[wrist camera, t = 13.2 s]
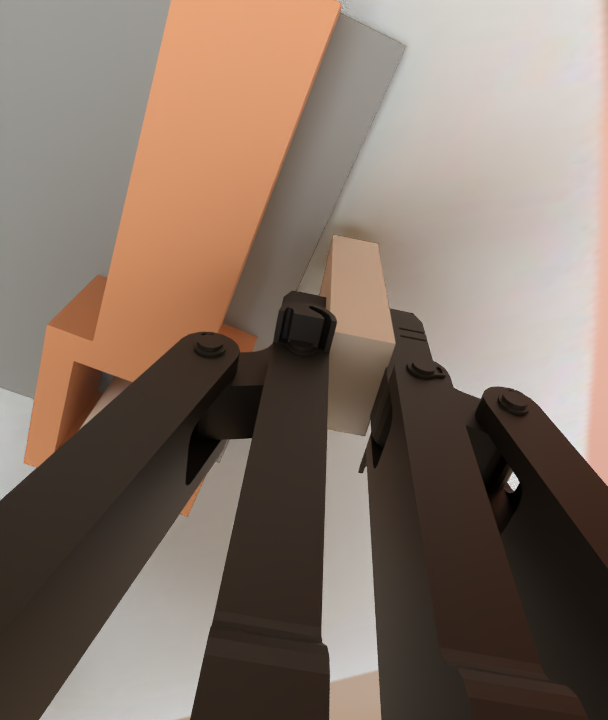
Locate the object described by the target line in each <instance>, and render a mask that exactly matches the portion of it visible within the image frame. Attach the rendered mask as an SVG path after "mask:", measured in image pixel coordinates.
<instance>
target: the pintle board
mask: <svg viewBox="0 0 608 720" xmlns="http://www.w3.org/2000/svg"><path fill="white" fill-rule="evenodd" d="M170 3H171V0H0V387H1V388H4V389H6V390H9V391H12V392H15V393H18V394H21V395H24V396H27V397H30V398H33V399H34V398H35V392H36V386H37V381H38V375H39V369H40V363H41V357H42V351H43V345H44V339H45V333H46V327H47V324H48V323H49V322H50V321H51V320H52V319H53V318H54V317H55V316H56V315H57V314H58V313H59V312H60V311H61V310H62V309H63V308H64V307H65V306H66V305H67V304H68V303H69V302H70V301H71V300H73V299H74V298H75V297H76V296H77V295H78V294H79V293H80V292H81V291H82V290H83V289H84V288H85V287H86V286H87V285H88V284H89V283H90V282H91V281H92V280H93V279H94V278H95V277H96V276H97V275H100V276H103V277H105V278H108V273H109V269H110V265H111V260H112V256H113V252H114V247H115V243H116V239H117V234H118V230H119V225H120V221H121V217H122V212H123V208H124V204H125V199H126V195H127V190H128V186H129V182H130V177H131V173H132V169H133V164H134V160H135V156H136V151H137V147H138V142H139V138H140V134H141V129H142V125H143V121H144V116H145V112H146V108H147V103H148V99H149V94H150V90H151V86H152V81H153V77H154V73H155V68H156V64H157V60H158V55H159V51H160V46H161V42H162V38H163V33H164V29H165V25H166V20H167V16H168V11H169V7H170ZM405 48H406V46H405V45H403V44H401V43H399V42H397V41H395V40H393V39H391V38H389V37H387V36H385V35H383V34H381V33H379V32H377V31H375V30H373V29H371V28H369V27H367V26H365V25H363V24H361V23H359V22H357V21H355V20H353V19H351V18H349V17H347V16H345V15H343V14H341V13H340V15H339V17H338V20H337V23H336V25H335V28H334V30H333V33H332V36H331V38H330V41H329V44H328V46H327V49H326V52H325V54H324V57H323V59H322V62H321V65H320V67H319V70H318V73H317V75H316V78H315V81H314V83H313V86H312V88H311V91H310V94H309V96H308V99H307V102H306V104H305V107H304V110H303V112H302V115H301V117H300V120H299V123H298V125H297V128H296V131H295V133H294V136H293V139H292V141H291V144H290V146H289V149H288V152H287V154H286V157H285V160H284V162H283V165H282V168H281V170H280V173H279V175H278V178H277V181H276V183H275V186H274V189H273V191H272V194H271V197H270V199H269V202H268V204H267V207H266V210H265V212H264V215H263V218H262V220H261V223H260V226H259V228H258V231H257V233H256V236H255V239H254V241H253V244H252V247H251V249H250V252H249V255H248V257H247V260H246V262H245V265H244V268H243V270H242V273H241V276H240V278H239V281H238V284H237V286H236V289H235V291H234V294H233V297H232V299H231V302H230V305H229V307H228V310H227V313H226V315H225V318H224V320H223V324H226V325H228V326H231V327H234V328H236V329H239V330H241V331H244V332H246V333H249V334H252V335H254V336H257V339H256V343H255V346H254V350H253V352H255V351H260V350H263V349H265V348H268V347H269V346H270V345H271V344H272V343H273V339H274V333H275V328H276V322H277V317H278V312H279V309H280V308H281V306H282V301H283V297H284V296H285V295H287V294H288V293H289V292H291V291H297V288H298V286H299V284H300V282H301V279H302V277H303V275H304V273H305V270H306V268H307V266H308V264H309V262H310V259H311V257H312V255H313V253H314V250H315V248H316V246H317V244H318V242H319V239H320V237H321V235H322V233H323V230H324V228H325V226H326V224H327V221H328V219H329V217H330V215H331V213H332V210H333V208H334V206H335V204H336V201H337V199H338V197H339V195H340V192H341V190H342V188H343V186H344V184H345V181H346V179H347V177H348V175H349V172H350V170H351V168H352V166H353V164H354V161H355V159H356V157H357V155H358V152H359V150H360V148H361V146H362V143H363V141H364V139H365V137H366V135H367V132H368V130H369V128H370V126H371V123H372V121H373V119H374V117H375V115H376V112H377V110H378V108H379V106H380V103H381V101H382V99H383V97H384V94H385V92H386V90H387V88H388V86H389V83H390V81H391V79H392V77H393V74H394V72H395V70H396V68H397V65H398V63H399V61H400V59H401V57H402V54H403V52H404V50H405ZM131 383H132V382H131V381H128V380H125V379H122V378H119V377H117V376H114V375H111V374H108V373H106V372H103V371H102V374H101V378H100V382H99V386H98V390H97V391H100V392H103V395H102V396H101V398H100V399H99V401H98V402H97V404H96V405H95V407H94V408H93V410H92V411H91V413H90V414H89V416H88V417H87V419H86V420H85V422H84V423H83V425H82V426H81V428H82V427H83V426H84V425H85V424H86V423H88V422H89V421H90V420H91V419H92V418H93V417H94V416H95V415H97V414H98V413H99V412H100V411H101V410H102V409H103V408H104V407H105V406H107V405H108V404H109V403H110V402H111V401H112V400H113V399H114V398H116V397H117V396H118V395H119V394H120V393H121V392H122V391H123V390H125V389H126V388H127V387H128V386H129V385H130V384H131ZM81 428H80V429H81ZM80 429H79V430H80ZM229 440H230V439H227V442H226V445H225V448H224V450H223V451H222V452H221V454H220V455H219V457H218V458H217V460H216V462H218V463H219V462H220V460H221V458H222V455H223V453H224V451H225V449H226V447H227V444H228V442H229Z"/></svg>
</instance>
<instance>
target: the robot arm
mask: <svg viewBox="0 0 608 720" xmlns="http://www.w3.org/2000/svg"><path fill="white" fill-rule="evenodd" d="M370 420H371V431H372V432H371V435H370V438H369V441H368V444H367V447H366V450H365V452H364V455H363V458H362V461H361V464H360V468H359V472H358V473H363V471H364V468H365V467H366V466H367V475H368V493H369V510H370V527H371V545H372V562H373V580H374V597H375V615H376V632H377V650H378V667H379V685H380V701H381V718H382V720H608V486H607V485H606V484H605V483H604V482H603V481H602V479H601V478H600V477H599V476H598V475H597V474H596V472H595V471H594V470H593V469H592V468H591V466H590V465H589V464H588V463H587V462H586V461H585V459H584V458H583V457H582V456H581V455H580V454H579V452H578V451H577V450H576V449H575V448H574V447H573V445H572V444H571V443H570V442H569V441H568V440H567V438H566V437H565V436H564V435H563V434H562V433H561V431H560V430H559V429H558V428H557V427H556V426H555V424H554V423H553V422H552V421H551V420H550V419H549V417H548V416H547V415H546V414H545V413H544V412H543V410H542V409H541V408H540V407H539V406H538V405H537V404H536V403H535V402H534V401H533V400H532V399H530V398H529V397H527V396H525V395H524V394H523V393H521V392H519V391H517V390H514V389H511V388H504V387H490V388H488V389H487V390H485V391H484V393H483V395H482V398H481V399H479V398H476V397H474V396H471V395H468V394H466V393H463V392H461V391H459V390H457V389H455V388H453V385H452V381H451V378H450V376H449V374H448V372H447V371H446V369H444V368H443V367H442V366H441V365H440V364H438V363H436V362H434V361H433V360H432V356H431V353H430V349H429V346H428V342H427V338H426V335H425V331H424V328H423V324H422V322H421V321H420V320H419V319H418V318H417V317H416V316H415V315H414V314H413V313H409V312H404V311H399V310H394V309H389V304H388V298H387V293H386V287H385V281H384V276H383V270H382V265H381V259H380V253H379V248H378V244H377V243H372V242H367V241H362V240H357V239H352V238H347V237H343V236H338V235H333V237H332V242H331V246H330V251H329V255H328V260H327V264H326V268H325V273H324V277H323V282H322V286H321V290H320V295H319V296H317V295H312V294H307V293H302V292H297V291H291V292H289V293H288V294H287V295H285V296H284V297H283V301H282V306H281V308H280V309H279V312H278V317H277V322H276V328H275V333H274V339H273V343H272V344H271V345H270V346H269V347H268V348H265V349H263V350H260V351H255V352H240V349H239V346H238V344H237V343H236V342H235V341H234V340H232V339H231V338H229V337H227V336H225V335H222V334H218V333H215V332H196V333H192V334H188V335H187V336H185V337H183V338H182V339H180V340H179V341H178V342H177V343H176V344H175V345H174V346H173V347H171V348H170V349H169V350H168V351H167V352H166V353H165V354H164V355H163V356H161V357H160V358H159V359H158V360H157V361H156V362H155V363H154V364H152V365H151V366H150V367H149V368H148V369H147V370H146V371H145V372H144V373H142V374H141V375H140V376H139V377H138V378H137V379H136V380H135V381H133V382H132V383H131V384H130V385H129V386H128V387H127V388H126V389H125V390H123V391H122V392H121V393H120V394H119V395H118V396H117V397H116V398H114V399H113V400H112V401H111V402H110V403H109V404H108V405H107V406H105V407H104V408H103V409H102V410H101V411H100V412H99V413H98V414H97V415H95V416H94V417H93V418H92V419H91V420H90V421H89V422H88V423H86V424H85V425H84V426H83V427H82V428H81V429H80V430H79V431H78V432H76V433H75V434H74V435H73V436H72V437H71V438H70V439H69V440H67V441H66V442H65V443H64V444H63V445H62V446H61V447H60V448H59V449H57V450H56V451H55V452H54V453H53V454H52V455H51V456H50V457H48V458H47V459H46V460H45V461H44V462H43V463H42V464H41V465H40V466H38V467H37V468H36V469H35V470H34V471H33V472H32V473H31V474H29V475H28V476H27V477H26V478H25V479H24V480H23V481H22V482H21V483H19V484H18V485H17V486H16V487H15V488H14V489H13V490H12V491H10V492H9V493H8V494H7V495H6V496H5V497H4V498H3V499H1V500H0V720H39V719H40V717H41V716H42V714H43V713H44V712H45V710H46V709H47V707H48V706H49V704H50V703H51V701H52V700H53V698H54V697H55V695H56V694H57V693H58V691H59V690H60V688H61V687H62V685H63V684H64V682H65V681H66V679H67V678H68V676H69V675H70V673H71V672H72V671H73V669H74V668H75V666H76V665H77V663H78V662H79V660H80V659H81V657H82V656H83V654H84V653H85V652H86V650H87V649H88V647H89V646H90V644H91V643H92V641H93V640H94V638H95V637H96V635H97V634H98V633H99V631H100V630H101V628H102V627H103V625H104V624H105V622H106V621H107V619H108V618H109V616H110V615H111V613H112V612H113V611H114V609H115V608H116V606H117V605H118V603H119V602H120V600H121V599H122V597H123V596H124V594H125V593H126V592H127V590H128V589H129V587H130V586H131V584H132V583H133V581H134V580H135V578H136V577H137V575H138V574H139V573H140V571H141V570H142V568H143V567H144V565H145V564H146V562H147V561H148V559H149V558H150V556H151V555H152V553H153V552H154V551H155V549H156V548H157V546H158V545H159V543H160V542H161V540H162V539H163V537H164V536H165V534H166V533H167V532H168V530H169V529H170V527H171V526H172V524H173V523H174V521H175V520H176V518H177V517H178V515H179V514H180V512H181V511H182V510H183V508H184V507H185V505H186V504H187V502H188V501H189V499H190V498H191V496H192V495H193V493H194V492H195V491H196V489H197V488H198V486H199V485H200V483H201V482H202V480H203V479H204V477H205V476H206V474H207V473H208V472H209V470H210V469H211V467H212V466H213V464H214V463H215V461H216V460H217V458H218V457H219V455H220V454H221V452H222V451H223V450H224V448H225V445H226V442H227V439H246V438H252V442H251V446H250V451H249V456H248V460H247V465H246V470H245V474H244V479H243V484H242V488H241V493H240V497H239V502H238V507H237V511H236V516H235V521H234V525H233V530H232V535H231V539H230V544H229V549H228V553H227V558H226V563H225V567H224V572H223V577H222V581H221V586H220V591H219V595H218V600H217V605H216V609H215V614H214V618H213V622H212V626H211V628H210V632H209V636H208V640H207V645H206V649H205V654H204V658H203V663H202V668H201V672H200V677H199V681H198V686H197V691H196V695H195V700H194V704H193V709H192V714H191V718H190V720H329V691H330V666H329V653H328V648H327V646H326V645H325V644H323V643H322V638H321V619H322V585H323V552H324V518H325V485H326V451H327V429H329V430H334V431H340V432H345V433H350V434H356V435H361V436H365V435H366V432H367V429H368V426H369V423H370ZM512 472H514V473H515V475H516V476H517V478H518V480H519V482H520V483H519V485H518V487H517V489H516V490H515V491H513V490H512V489H511V487H510V486H509V484H508V483H507V481H508V479H509V478H510V476H511V474H512Z"/></svg>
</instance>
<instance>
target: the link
mask: <svg viewBox="0 0 608 720" xmlns="http://www.w3.org/2000/svg"><path fill="white" fill-rule="evenodd" d="M340 12H341V3H340V2H338V1H336V0H171V3H170V7H169V11H168V16H167V20H166V25H165V29H164V33H163V38H162V42H161V46H160V51H159V55H158V60H157V64H156V68H155V73H154V77H153V81H152V86H151V90H150V94H149V99H148V103H147V108H146V112H145V116H144V121H143V125H142V129H141V134H140V138H139V142H138V147H137V151H136V156H135V160H134V164H133V169H132V173H131V177H130V182H129V186H128V190H127V195H126V199H125V204H124V208H123V212H122V217H121V221H120V225H119V230H118V234H117V239H116V243H115V247H114V252H113V256H112V260H111V265H110V269H109V273H108V278H105V277H103V276H100V275H97V276H96V277H95V278H94V279H93V280H92V281H91V282H90V283H89V284H88V285H87V286H86V287H85V288H84V289H83V290H82V291H81V292H80V293H79V294H78V295H77V296H76V297H75V298H74V299H73V300H71V301H70V302H69V303H68V304H67V305H66V306H65V307H64V308H63V309H62V310H61V311H60V312H59V313H58V314H57V315H56V316H55V317H54V318H53V319H52V320H51V321H50V322H49V323H48V324H47V327H46V333H45V339H44V345H43V351H42V357H41V363H40V369H39V375H38V381H37V386H36V392H35V398H34V404H33V410H32V416H31V422H30V428H29V434H28V440H27V446H26V451H25V457H24V463H25V464H28V465H31V466H34V467H38V466H40V465H41V464H42V463H43V462H44V461H45V460H46V459H47V458H48V457H50V456H51V455H52V454H53V453H54V452H55V451H56V450H57V449H59V448H60V447H61V446H62V445H63V444H64V443H65V442H66V441H67V440H69V439H70V438H71V437H72V436H73V435H74V434H75V433H76V432H78V431H79V429H80V428H81V426H82V425H83V423H84V422H85V420H86V419H87V417H88V416H89V414H90V413H91V411H92V410H93V408H94V407H95V405H96V404H97V402H98V401H99V399H100V398H101V396H102V395H103V392H100V391H97V390H98V386H99V382H100V378H101V374H102V371H103V372H106V373H108V374H111V375H114V376H117V377H119V378H122V379H125V380H128V381H131V382H133V381H135V380H136V379H137V378H138V377H139V376H140V375H141V374H142V373H144V372H145V371H146V370H147V369H148V368H149V367H150V366H151V365H152V364H154V363H155V362H156V361H157V360H158V359H159V358H160V357H161V356H163V355H164V354H165V353H166V352H167V351H168V350H169V349H170V348H171V347H173V346H174V345H175V344H176V343H177V342H178V341H179V340H180V339H182V338H183V337H185V336H187V335H188V334H192V333H196V332H215V333H218V334H222V335H225V336H227V337H229V338H231V339H232V340H234V341H235V342H236V343H237V344H238V346H239V349H240V352H253V350H254V346H255V343H256V339H257V336H254V335H252V334H249V333H246V332H244V331H241V330H239V329H236V328H234V327H231V326H228V325H226V324H223V320H224V318H225V315H226V313H227V310H228V307H229V305H230V302H231V299H232V297H233V294H234V291H235V289H236V286H237V284H238V281H239V278H240V276H241V273H242V270H243V268H244V265H245V262H246V260H247V257H248V255H249V252H250V249H251V247H252V244H253V241H254V239H255V236H256V233H257V231H258V228H259V226H260V223H261V220H262V218H263V215H264V212H265V210H266V207H267V204H268V202H269V199H270V197H271V194H272V191H273V189H274V186H275V183H276V181H277V178H278V175H279V173H280V170H281V168H282V165H283V162H284V160H285V157H286V154H287V152H288V149H289V146H290V144H291V141H292V139H293V136H294V133H295V131H296V128H297V125H298V123H299V120H300V117H301V115H302V112H303V110H304V107H305V104H306V102H307V99H308V96H309V94H310V91H311V88H312V86H313V83H314V81H315V78H316V75H317V73H318V70H319V67H320V65H321V62H322V59H323V57H324V54H325V52H326V49H327V46H328V44H329V41H330V38H331V36H332V33H333V30H334V28H335V25H336V23H337V20H338V17H339V15H340ZM204 478H205V477H204ZM203 481H204V479H203V480H202V482H201V483H200V485H199V486H198V488H197V489H196V491H195V492H194V493H193V495H192V496H191V498H190V499H189V501H188V502H187V504H186V505H185V507H184V508H183V510H182V511H181V512H180V514H182V515H185V516H188V515H189V512H190V510H191V508H192V506H193V503H194V501H195V499H196V496H197V494H198V492H199V490H200V487H201V485H202V483H203Z"/></svg>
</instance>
